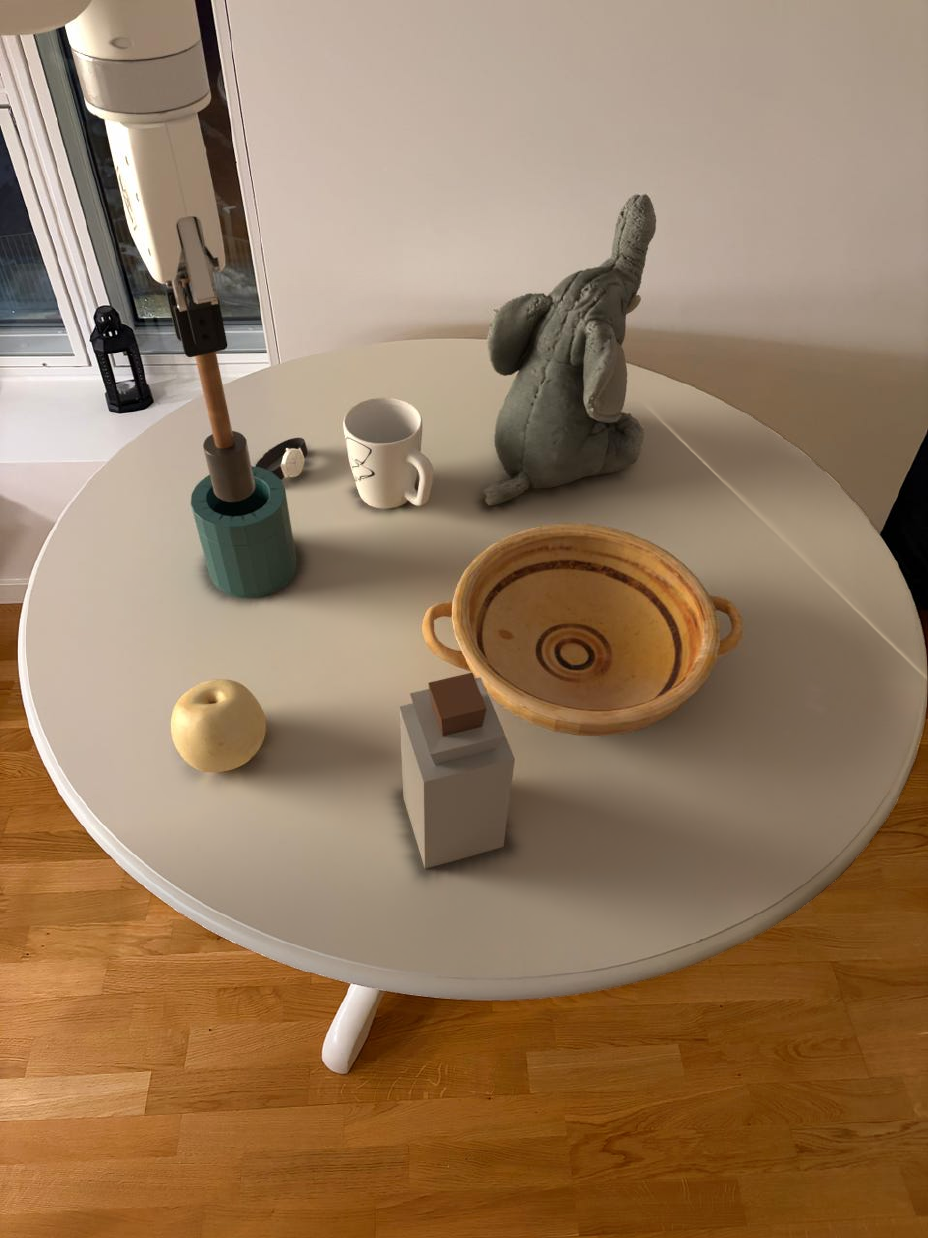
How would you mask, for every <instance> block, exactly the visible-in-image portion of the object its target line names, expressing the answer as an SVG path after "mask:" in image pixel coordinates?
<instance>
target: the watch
mask: <svg viewBox="0 0 928 1238" xmlns="http://www.w3.org/2000/svg"><path fill="white" fill-rule="evenodd" d="M308 454H309V451H308V446H307V443H306V441H305V439H304V438H303V437H293V438H288V439H286V440H284V441H282V442H280V443H278V444H276V445H275V446H273V447H271V448H269V449H268V451H266V452H265V453H264V454H263V455H262V457H260V459H258V461H257V462H256V464H255V467H260V468H262V469H265V470H267V469H268V468H270V467H271V466H272V465H273V464H274V463H276V462H277V461H279V459H281V458H282V460H281V463H280V465H279V466H278V467H276V468H275V469H272V470H271V471H270V470H269V471H270V472H272V473H273V474H275V475H276V476H277V477H278V478H280V479H281V481H282V480H283V479H284V478H285V479H286V478H287V477H289V478H295V477H298V476H299V475H300V474H301V473H302V472H303V469H304V466H305V460H306V458H307V456H308Z"/></svg>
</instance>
